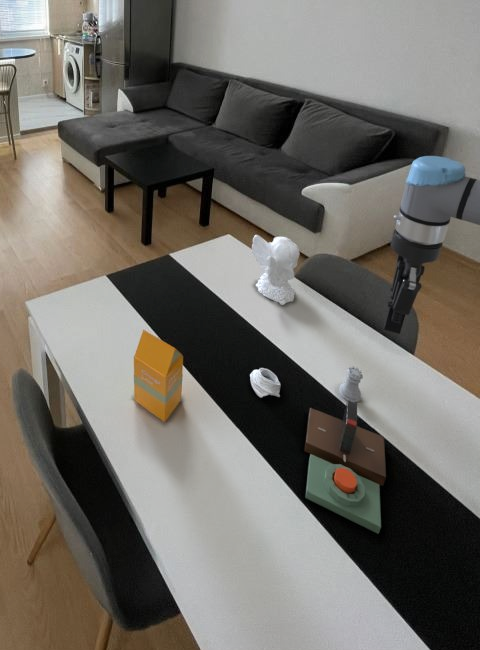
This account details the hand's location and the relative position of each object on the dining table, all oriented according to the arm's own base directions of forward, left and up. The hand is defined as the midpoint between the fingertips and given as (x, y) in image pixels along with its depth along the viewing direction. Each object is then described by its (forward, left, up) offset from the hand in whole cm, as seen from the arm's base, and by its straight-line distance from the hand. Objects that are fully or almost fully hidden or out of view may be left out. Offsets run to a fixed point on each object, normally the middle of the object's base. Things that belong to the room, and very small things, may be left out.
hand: (391, 329), depth 90 cm
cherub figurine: (+25, -31, -25) cm, 47 cm away
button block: (+5, +23, -24) cm, 34 cm away
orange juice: (+44, +21, -25) cm, 55 cm away
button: (+5, +23, -21) cm, 31 cm away
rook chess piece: (+4, -2, -25) cm, 25 cm away
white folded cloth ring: (+22, +5, -25) cm, 33 cm away
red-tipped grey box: (+5, +13, -21) cm, 25 cm away
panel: (+5, +13, -24) cm, 28 cm away
